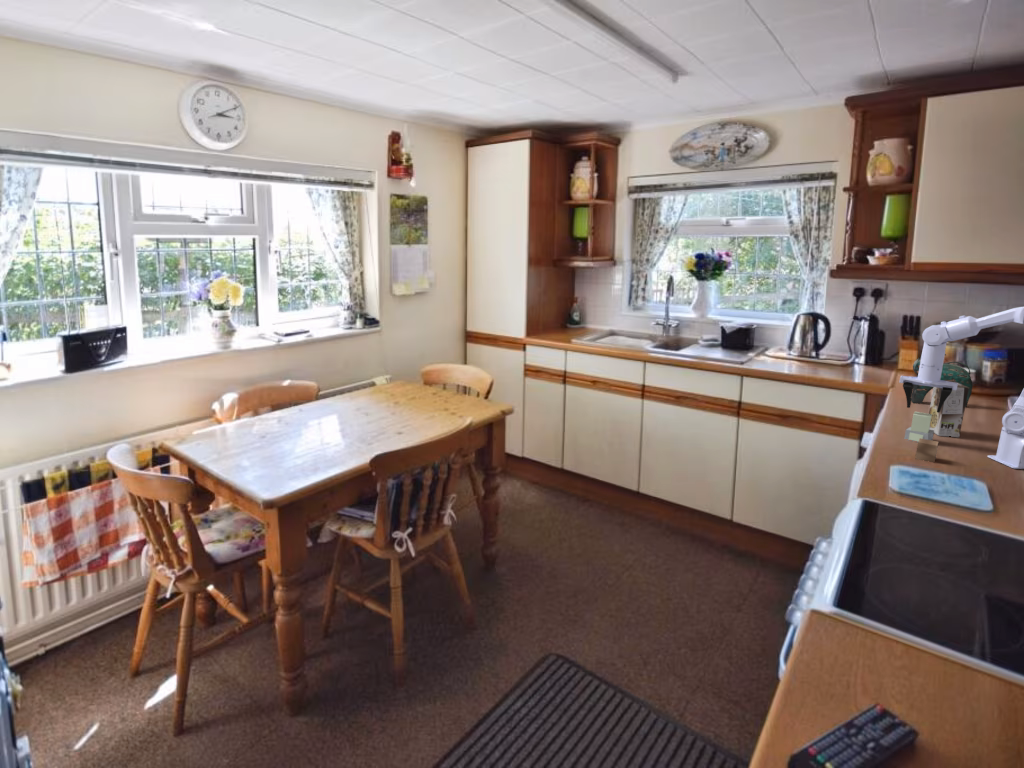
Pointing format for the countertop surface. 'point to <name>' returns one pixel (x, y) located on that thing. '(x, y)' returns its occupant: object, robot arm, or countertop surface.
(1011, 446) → the robot arm
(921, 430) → the sage block
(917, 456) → the walnut block
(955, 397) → the coffee box
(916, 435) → the base block
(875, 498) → the countertop surface
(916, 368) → the ceramic cat
